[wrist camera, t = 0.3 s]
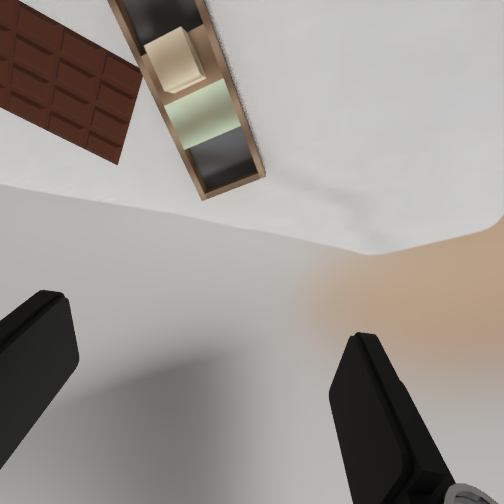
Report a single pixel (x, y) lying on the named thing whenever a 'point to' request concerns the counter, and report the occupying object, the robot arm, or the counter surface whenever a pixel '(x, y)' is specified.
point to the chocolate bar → (65, 81)
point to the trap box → (195, 95)
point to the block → (175, 61)
